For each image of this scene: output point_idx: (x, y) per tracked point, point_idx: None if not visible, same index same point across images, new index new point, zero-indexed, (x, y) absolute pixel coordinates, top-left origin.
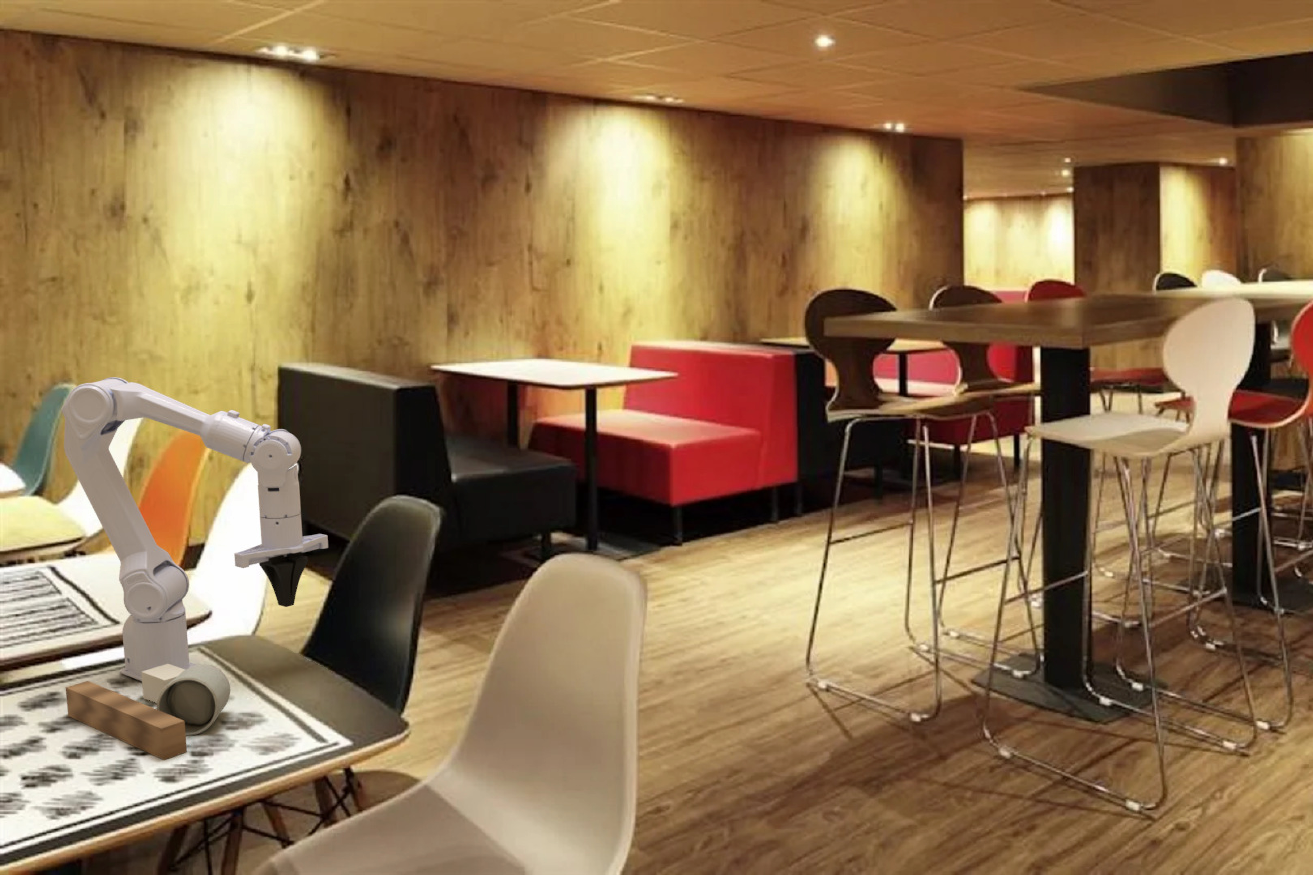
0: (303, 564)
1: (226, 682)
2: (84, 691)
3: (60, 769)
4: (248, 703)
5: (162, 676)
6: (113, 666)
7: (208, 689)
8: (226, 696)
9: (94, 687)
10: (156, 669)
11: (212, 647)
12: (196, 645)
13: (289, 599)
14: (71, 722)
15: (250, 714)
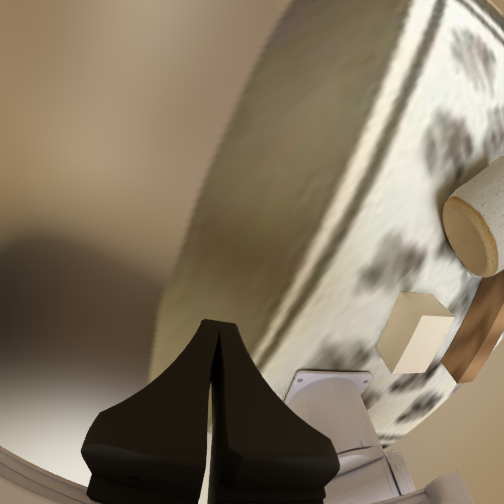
0: (134, 418)
1: (485, 192)
2: (485, 355)
3: None
4: (398, 191)
5: (441, 334)
6: None
7: None
8: (481, 177)
9: (476, 359)
10: (416, 365)
11: (209, 418)
12: None
13: (227, 332)
14: None
15: (430, 153)
